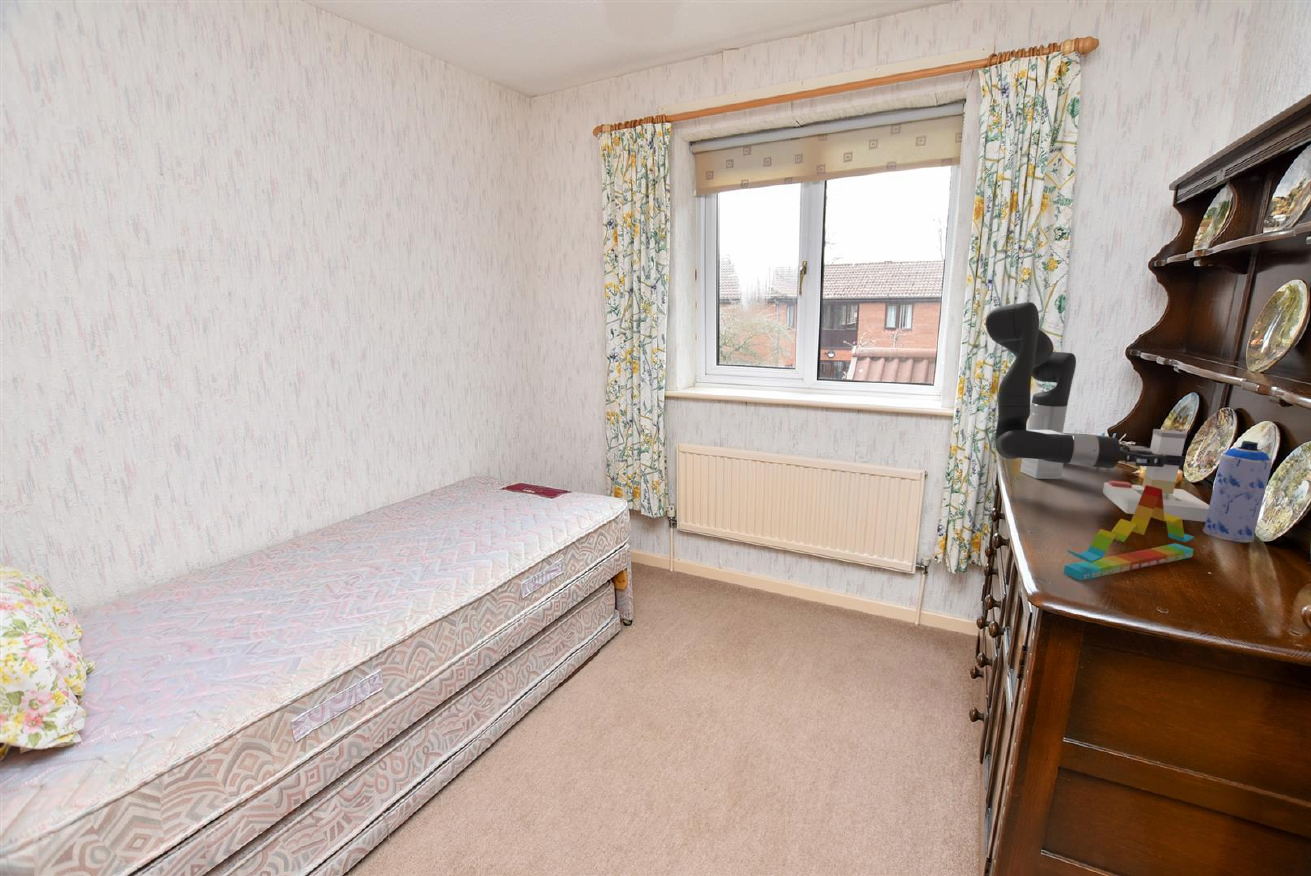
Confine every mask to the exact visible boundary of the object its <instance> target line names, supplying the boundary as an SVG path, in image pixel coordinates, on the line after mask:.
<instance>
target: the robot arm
mask: <svg viewBox="0 0 1311 876" xmlns="http://www.w3.org/2000/svg"><path fill="white" fill-rule="evenodd" d="M985 328H986V331H987V334H988V336H989V337H990V339H991V340H992V341H993V342H994V343H996V344H999V346H1002V347H1004V348H1005V349H1007V350H1008V351H1009V352H1010V353H1012V354H1013V356H1014V357H1015V359H1014V361H1013V363H1012V364H1011V366H1010V368H1009V369H1008V370H1007V371H1006V373H1005V375H1004V376H1003V377H1002V379H1001V382H1000V384H999V387H998V390H997V391H998V394H997V414H998V417H997V418H998V419H997V422H996V423H997V424H996V429H995V430H996V432H995V440H994V441H995V449H996V451H997V453H998V454H999V456H1000V457H1003V458H1004V459H1008V460H1015V459H1022V458H1030V459H1043V460H1045V461H1049V462H1057V463H1063V464H1069V465H1074V466H1079V467H1090V468H1091V467H1093V468H1101V469H1115V467H1117V465H1118V463H1119V462H1124V464H1126V465H1134V466H1136V467H1146V466H1151V467H1164V465H1175V466H1179V467H1183V466H1185V465H1186V464H1185V463H1186V457H1185V456H1183V455H1182V456H1175V455H1165V454H1157V453H1153V452H1152V451H1150V448H1149V447H1148V446H1140V445H1132V444H1126V443H1125V444H1124V443H1120V441H1119V439H1118V438H1117V437H1111V436H1099V435H1087V434H1077V435H1075V434H1074V435H1073V434H1066V435H1062V434H1045V433H1040V432H1034V431H1027V430H1053V431H1056V432H1059V433H1063V434H1064V430H1065V429H1064V428H1065V422H1066V417H1067V416H1066V415H1067V409H1068V405H1069V404H1068V403H1069V398H1070V394H1071V389H1072V383H1073V379H1074V377H1075V376H1074V375H1075V370H1076V366H1077V359H1076V355H1075V354H1074V353H1073V352H1062V351H1054V349H1055V348H1054V344H1053V341H1052V339H1051V338H1050V337H1049V336H1048V334H1047V333H1046V332H1045V331H1043V330H1042V329H1040V315H1039V310H1038V307H1037V306H1036V305H1035V303H1033V302H1032V301H1027V302H1020V303H1014V304H1007V305H1002V306H997V307H994V308H993V309H991V310H990V311H989V312H988V313H987V315H986V318H985ZM1032 378H1033V379H1034V380H1036V381H1038V382H1042V383H1043V382H1045V383H1053V384H1054V383H1056V385H1055V387H1054V388H1052V389H1050V390H1047V391H1040V392H1038V393H1037V392H1036V393H1034V394H1033V395H1032V400H1031V394H1032V393H1031V390H1032V388H1031V387H1032V386H1031V385H1032ZM1027 423H1028V425H1027ZM1156 458H1158V461H1157V462H1155V459H1156Z"/></svg>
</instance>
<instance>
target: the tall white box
mask: <svg viewBox="0 0 1311 876" xmlns="http://www.w3.org/2000/svg"><path fill="white" fill-rule="evenodd" d="M1187 436H1188V434H1187V433H1185V432H1183V431H1180V430H1172V429H1158V428H1153V430H1152V437H1151V443H1150V447H1149V449H1150V451H1152V452H1153V453H1157V454H1165V455H1175V456H1183V455H1182V454H1183V452H1184V451H1183V450H1184V448H1185V447H1184V446H1185V442H1186V439H1187ZM1157 461H1158V458H1156V459H1155V462H1157ZM1179 469H1180V466H1175V465H1164V467H1151V466H1145V472H1144V477H1143V480H1142V481H1143V482H1142V484H1141V486H1142V487H1144V488H1145V486H1146V485H1148V486H1151V487H1155V488H1159V489H1162V493H1167V494H1173V492H1174V489H1175V487H1176V482H1177V479H1178V478H1177V477H1178V474H1179Z"/></svg>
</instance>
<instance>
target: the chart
mask: <svg viewBox="0 0 1311 876" xmlns="http://www.w3.org/2000/svg"><path fill="white" fill-rule="evenodd" d="M1151 518H1152V519H1156V520H1159V521H1163V522H1165V523H1166V529H1167V536H1168V538H1170V539H1172V540H1176V541H1179V542H1183V543H1186V542H1189V541H1191V540H1194V539H1195V536H1193V535H1190V534H1186V533H1185V532H1184V531H1185V530H1184V525H1183V519H1182V518H1180V517H1177V516H1173V515H1170V514H1166V513H1165V514H1164V506H1163V495H1162V489H1159V488H1155V487H1151V486H1148V485H1146V486H1145V488H1144V491H1143V493H1142V496H1141V498H1140V501H1139V503H1138V505H1137V508H1136V510H1135V513H1134V514H1132V518H1131V520H1130V521H1129V520H1126V519H1123V518H1120V519H1119V520H1118V521H1117V523H1116V524H1115V526H1114V527H1113V529H1112V530H1111V531H1109V530H1106V529H1102V528H1100V529H1099V530H1098V532H1097V534H1096V536H1095V537H1094V539H1093V540H1092V542H1091V543H1090V546H1089V547H1088V548H1087V550H1086V551H1083V552H1081V553H1077V552H1074V551H1072V550H1069V549H1067V553H1069V554H1071V555H1072V556H1074V557H1075V558H1078V559H1080V560H1082V561H1079V562H1073V563H1070V564H1065V565H1064V569H1063V574H1064V575H1066V576H1068V577H1071V578H1074V579H1075V580H1078V581H1085V580H1090V579H1095V578H1100V577H1105V576H1109V575H1114V574H1119V573H1123V572H1127V571H1132V570H1137V569H1143V568H1146V567H1151V566H1157V565H1160V564H1165V563H1171V562H1176V561H1179V560H1185V559H1190V558H1192V557H1193V555H1194V554H1193V553H1194V548H1191V547H1188V546H1185V545H1182V544H1179V543H1176V542H1175V543H1171V544H1166V545H1159V546H1157V547H1151V548H1145V549H1140V550H1136V551H1132V552H1126V553H1119V554H1116V555H1111V556H1105V554H1106V552H1107V551H1108V549H1109V548H1110V546H1111V544H1112V542H1113V541H1114V540H1116V541H1119V542H1123V543H1124V542H1125V541H1126V540H1127V538H1128V537H1129V536H1130V535H1131V534H1132V532H1133V533H1136V534H1139V535H1143V536H1144V535H1145V533H1146V530H1147V527H1148V526H1149V523H1150V521H1151Z"/></svg>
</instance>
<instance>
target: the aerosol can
mask: <svg viewBox="0 0 1311 876" xmlns="http://www.w3.org/2000/svg"><path fill="white" fill-rule="evenodd" d="M1258 444H1259V443H1258V442H1254V441H1250V440H1242V442H1241V445H1240V446H1236V447H1234V448H1230V449H1228V450H1226V452H1225V451H1224V452H1222V453H1221V456H1220V457H1219V458H1220V459H1219V463H1218V466H1217V467H1218V468H1217V472H1216V477H1215V480H1214V484H1213V488H1212V492H1211V497H1210V503H1209V505H1210V506H1209V510H1208V514H1207V519H1206V522H1204V523H1205V524H1204V527H1203V528H1202V532H1203V533H1205V534H1206V535H1208V536H1211V537H1213V538H1218V539H1221V540H1225V541H1230V542H1235V543H1236V542H1237V543H1253V542H1255V537H1254V536H1255V533H1256V529H1257V524H1258V522H1259V518H1260V513H1261V511H1262V510H1261V509H1262V506H1263V502H1264V497H1265V493H1266V489H1267V486H1268V481H1269V477H1270V473H1271V470H1272V465H1273V463H1272V461H1273V460H1272V459H1271V458H1270V456H1269V455H1268V453H1266V452H1264V451H1262V450H1261V449H1259V448H1258V446H1259V445H1258Z"/></svg>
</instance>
